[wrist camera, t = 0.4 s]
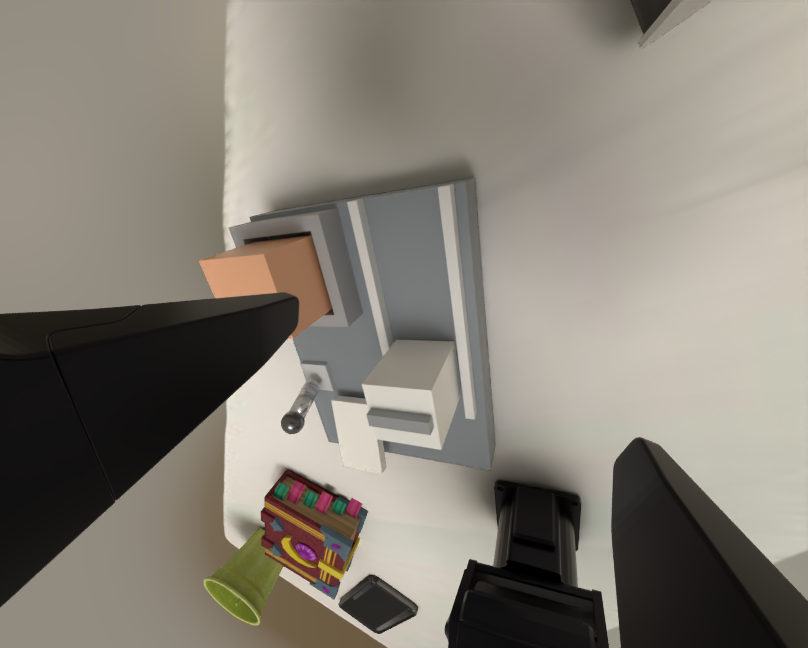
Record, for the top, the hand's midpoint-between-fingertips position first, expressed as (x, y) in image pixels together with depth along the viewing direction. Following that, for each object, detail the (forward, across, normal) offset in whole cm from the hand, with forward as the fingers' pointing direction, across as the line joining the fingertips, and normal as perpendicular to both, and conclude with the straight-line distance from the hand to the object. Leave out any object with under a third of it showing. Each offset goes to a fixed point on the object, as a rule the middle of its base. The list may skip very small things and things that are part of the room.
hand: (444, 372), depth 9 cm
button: (+9, +12, +4) cm, 15 cm away
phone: (+15, -1, +55) cm, 57 cm away
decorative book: (+15, +10, +40) cm, 44 cm away
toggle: (+11, +10, +13) cm, 20 cm away
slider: (+11, +2, +8) cm, 14 cm away
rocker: (+10, +5, +16) cm, 20 cm away
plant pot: (+15, +17, +54) cm, 58 cm away
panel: (+14, +6, +9) cm, 17 cm away
